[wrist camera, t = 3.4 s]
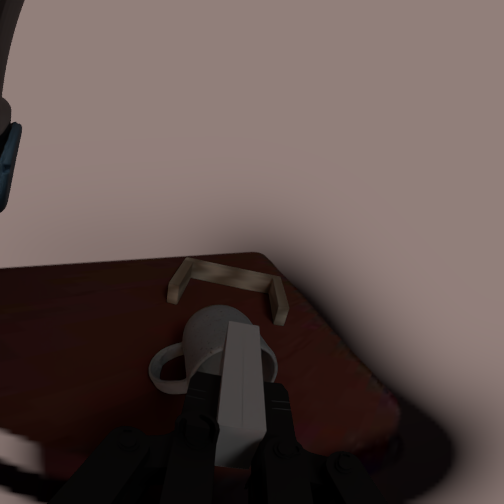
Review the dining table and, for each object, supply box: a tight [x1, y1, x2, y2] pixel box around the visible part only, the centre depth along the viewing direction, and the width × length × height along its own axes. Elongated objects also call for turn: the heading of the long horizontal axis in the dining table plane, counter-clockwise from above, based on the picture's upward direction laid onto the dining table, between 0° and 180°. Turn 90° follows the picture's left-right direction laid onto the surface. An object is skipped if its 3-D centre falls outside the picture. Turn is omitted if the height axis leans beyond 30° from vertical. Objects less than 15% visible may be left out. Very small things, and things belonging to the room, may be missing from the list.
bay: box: [167, 257, 289, 326], centre depth 44 cm, size 17×12×3 cm
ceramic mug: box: [149, 305, 278, 394], centre depth 24 cm, size 11×8×8 cm
